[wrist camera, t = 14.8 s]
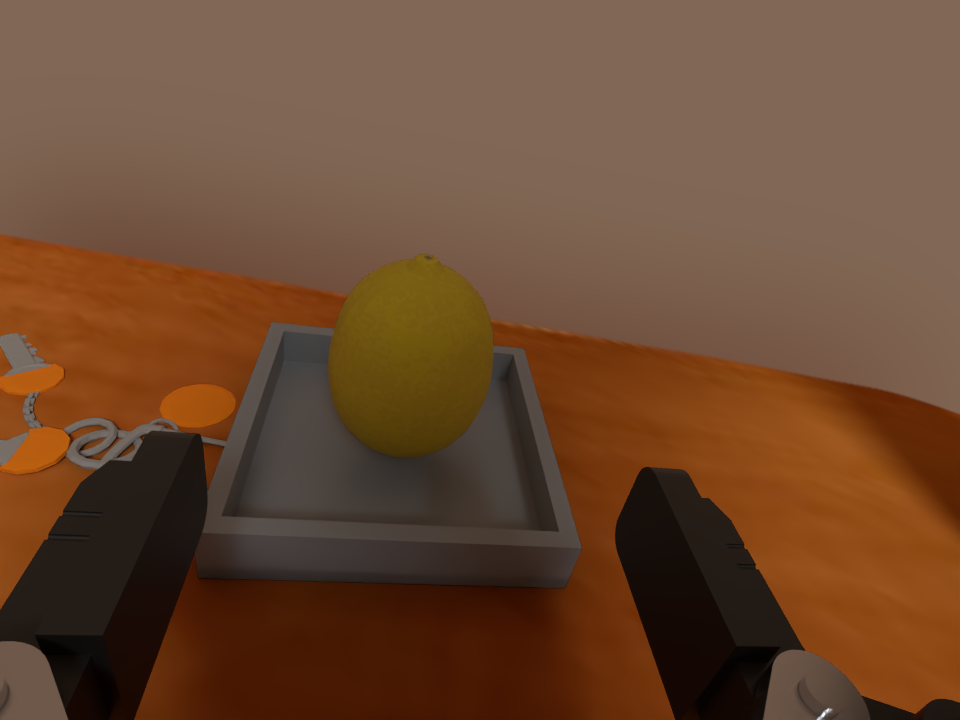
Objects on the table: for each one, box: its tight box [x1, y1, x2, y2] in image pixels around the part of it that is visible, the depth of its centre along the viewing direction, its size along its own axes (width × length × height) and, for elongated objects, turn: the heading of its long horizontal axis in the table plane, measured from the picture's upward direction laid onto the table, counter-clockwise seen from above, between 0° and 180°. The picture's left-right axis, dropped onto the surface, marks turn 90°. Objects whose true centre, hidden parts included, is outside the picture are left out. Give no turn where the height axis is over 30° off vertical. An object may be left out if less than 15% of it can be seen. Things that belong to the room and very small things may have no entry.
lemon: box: [328, 254, 494, 458], centre depth 20 cm, size 6×6×8 cm
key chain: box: [0, 333, 236, 475], centre depth 22 cm, size 13×7×1 cm, turn 79°
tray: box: [195, 322, 582, 588], centre depth 22 cm, size 11×11×2 cm
